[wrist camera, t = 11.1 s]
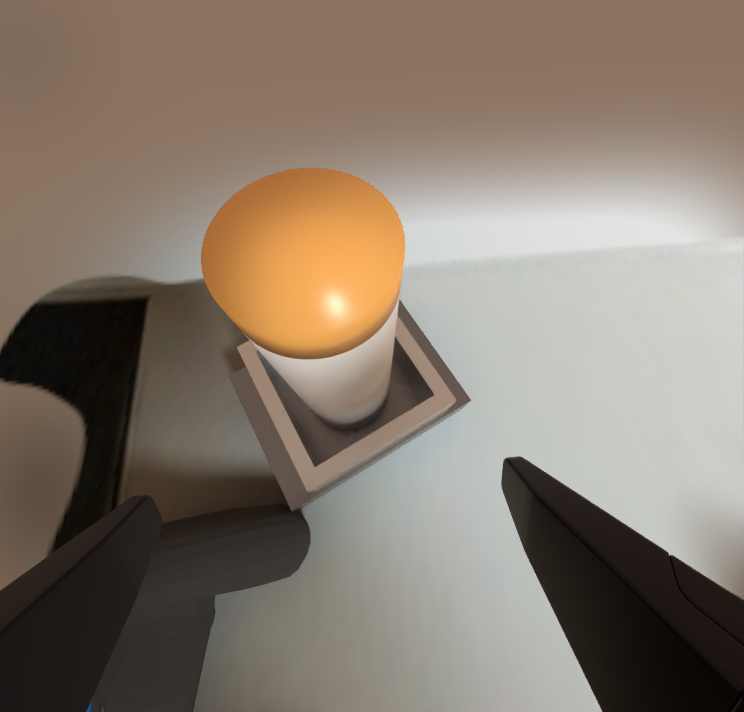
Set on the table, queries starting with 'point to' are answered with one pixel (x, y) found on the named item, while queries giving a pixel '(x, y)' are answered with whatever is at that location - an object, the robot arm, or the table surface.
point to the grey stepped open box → (344, 446)
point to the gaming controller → (194, 601)
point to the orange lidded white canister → (313, 285)
